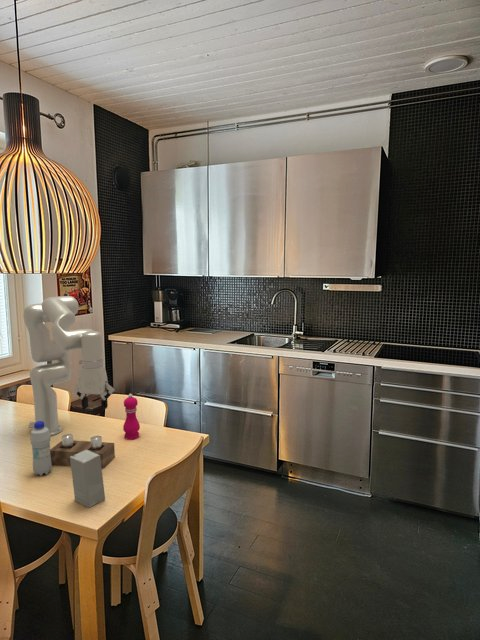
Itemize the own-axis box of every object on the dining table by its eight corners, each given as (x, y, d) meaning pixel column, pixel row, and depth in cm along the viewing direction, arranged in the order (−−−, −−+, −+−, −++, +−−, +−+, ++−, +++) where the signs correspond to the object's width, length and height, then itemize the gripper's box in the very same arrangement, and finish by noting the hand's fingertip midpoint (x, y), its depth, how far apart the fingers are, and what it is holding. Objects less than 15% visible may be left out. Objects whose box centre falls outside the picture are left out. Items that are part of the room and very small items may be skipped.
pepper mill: (142, 434, 192) (140, 391, 189) (136, 440, 185) (135, 396, 182) (127, 433, 193) (125, 391, 190) (121, 439, 186) (119, 396, 183)
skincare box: (105, 500, 138) (103, 454, 136) (86, 510, 132) (83, 462, 130) (90, 491, 143) (88, 447, 141) (71, 500, 138) (68, 455, 136)
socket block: (49, 465, 162) (48, 450, 161) (64, 453, 172) (63, 439, 171) (103, 468, 159) (102, 453, 158) (114, 457, 169) (114, 442, 168)
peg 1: (60, 452, 164) (59, 437, 163) (66, 448, 168) (65, 433, 167) (70, 453, 164) (69, 438, 163) (75, 448, 168) (74, 434, 167)
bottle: (39, 479, 152) (36, 426, 149) (29, 474, 155) (25, 422, 152) (56, 471, 157) (53, 420, 155) (45, 467, 161) (42, 416, 158)
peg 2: (89, 454, 162) (88, 439, 162) (94, 449, 166) (93, 435, 166) (99, 454, 162) (98, 440, 161) (104, 450, 166) (103, 435, 165)
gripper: (65, 365, 157) (68, 411, 159) (109, 367, 155) (111, 413, 157) (76, 361, 164) (78, 404, 167) (118, 362, 162) (120, 406, 164)
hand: (94, 408), depth 162 cm, fingers open, 7 cm apart
